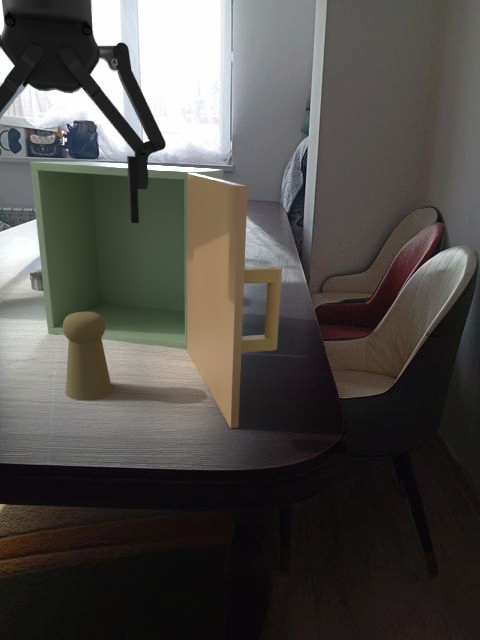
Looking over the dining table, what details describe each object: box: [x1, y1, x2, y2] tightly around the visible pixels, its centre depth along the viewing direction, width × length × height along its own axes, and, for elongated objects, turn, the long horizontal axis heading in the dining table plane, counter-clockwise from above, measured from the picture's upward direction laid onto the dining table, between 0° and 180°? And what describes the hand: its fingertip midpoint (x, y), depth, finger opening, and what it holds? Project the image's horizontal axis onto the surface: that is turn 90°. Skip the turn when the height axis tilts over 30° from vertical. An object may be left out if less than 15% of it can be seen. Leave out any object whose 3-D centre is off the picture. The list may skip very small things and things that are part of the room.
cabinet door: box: [186, 173, 283, 429], centre depth 70 cm, size 6×26×28 cm, turn 19°
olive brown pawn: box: [63, 312, 113, 402], centre depth 68 cm, size 6×6×11 cm
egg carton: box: [29, 268, 44, 291], centre depth 120 cm, size 11×8×4 cm
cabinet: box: [30, 161, 224, 350], centre depth 91 cm, size 18×26×28 cm
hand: (66, 220), depth 53 cm, fingers open, 13 cm apart
